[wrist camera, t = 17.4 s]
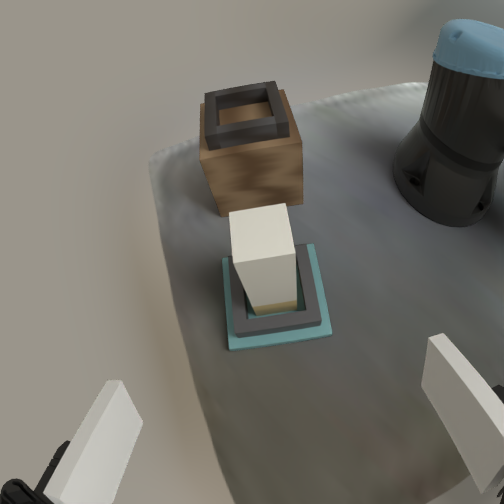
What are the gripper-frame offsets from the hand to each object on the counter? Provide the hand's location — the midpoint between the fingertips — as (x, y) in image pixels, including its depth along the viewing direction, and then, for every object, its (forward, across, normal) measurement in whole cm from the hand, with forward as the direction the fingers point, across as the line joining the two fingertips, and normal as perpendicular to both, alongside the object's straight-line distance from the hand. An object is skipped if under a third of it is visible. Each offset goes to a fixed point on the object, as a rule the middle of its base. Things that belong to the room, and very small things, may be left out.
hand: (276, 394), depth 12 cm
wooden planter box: (+31, 0, +6) cm, 32 cm away
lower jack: (+20, 0, -5) cm, 21 cm away
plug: (+19, 0, -4) cm, 20 cm away
